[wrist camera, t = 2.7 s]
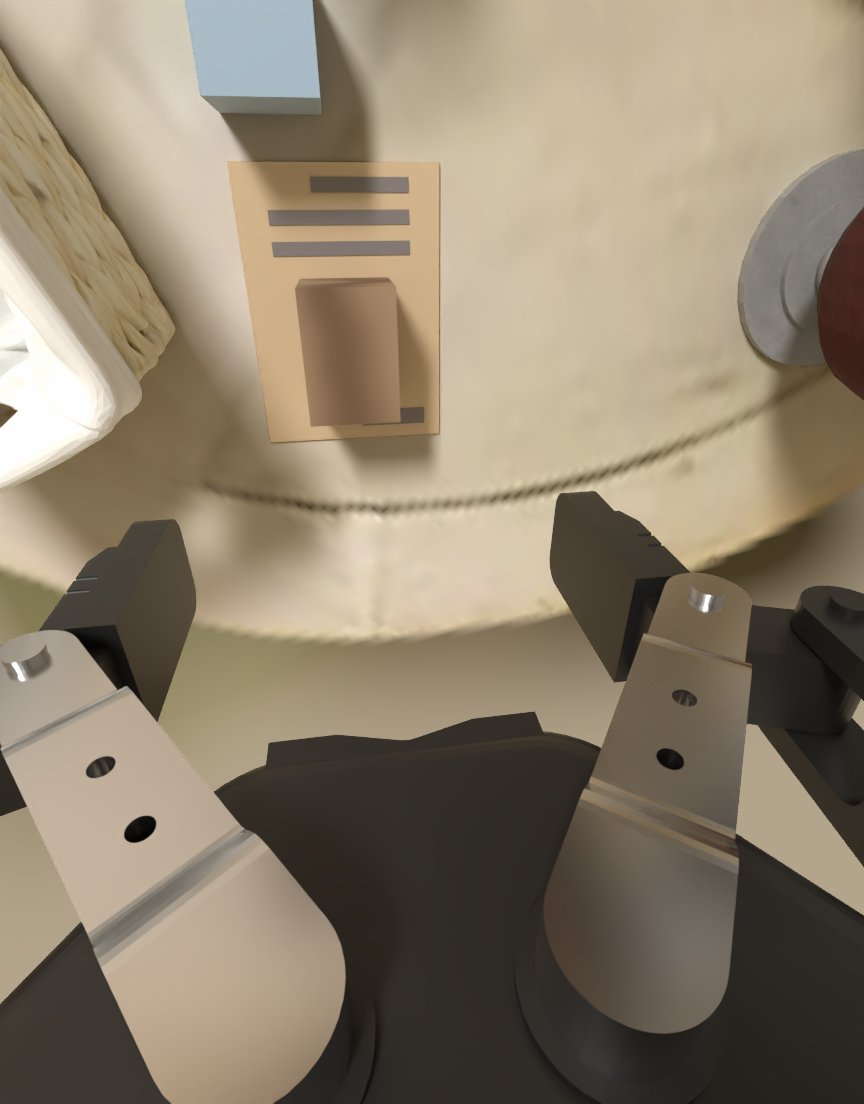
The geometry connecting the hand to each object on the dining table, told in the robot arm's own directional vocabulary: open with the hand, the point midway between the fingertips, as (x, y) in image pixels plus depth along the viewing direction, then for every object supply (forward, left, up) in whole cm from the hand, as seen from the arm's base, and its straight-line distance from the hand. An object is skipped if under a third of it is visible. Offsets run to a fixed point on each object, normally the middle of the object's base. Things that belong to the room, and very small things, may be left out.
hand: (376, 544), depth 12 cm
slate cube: (+3, -13, -26) cm, 29 cm away
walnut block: (0, 0, -26) cm, 26 cm away
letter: (0, -1, -26) cm, 26 cm away
